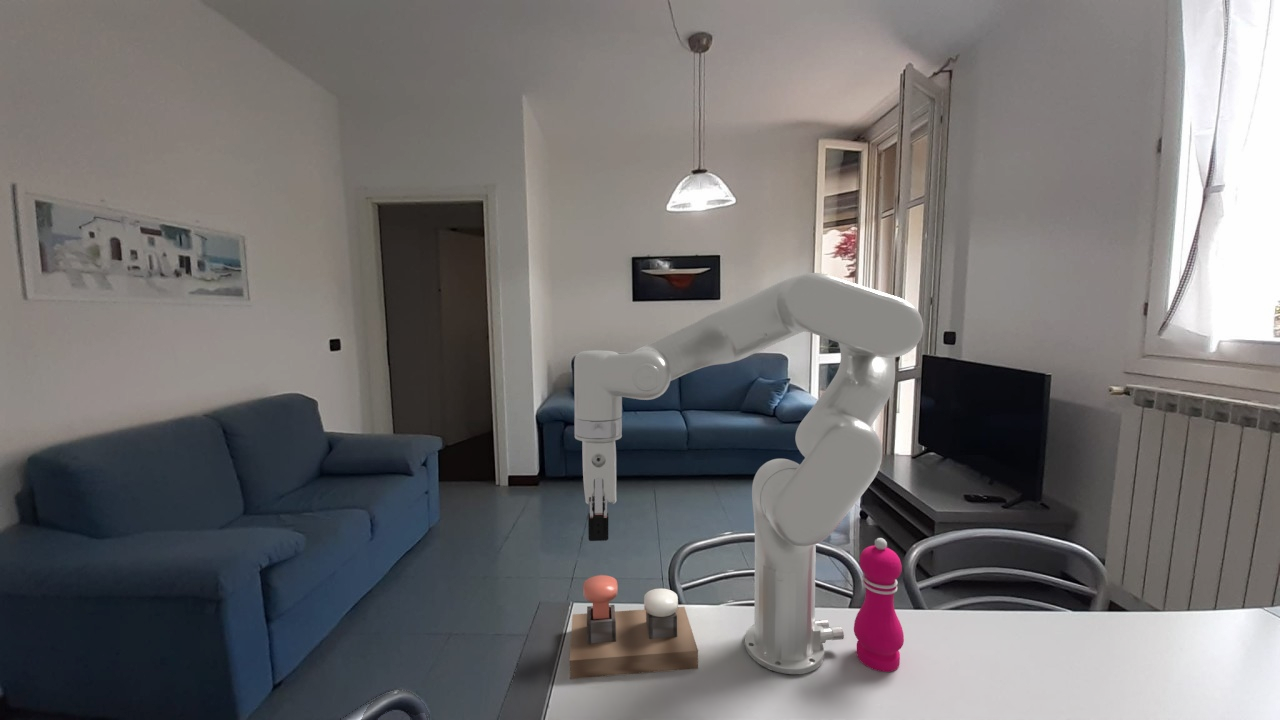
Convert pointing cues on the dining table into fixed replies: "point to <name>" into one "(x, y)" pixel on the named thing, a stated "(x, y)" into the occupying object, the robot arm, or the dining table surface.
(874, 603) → the pepper mill
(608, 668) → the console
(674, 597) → the cream button
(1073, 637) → the dining table surface
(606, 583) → the red button
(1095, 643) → the dining table surface
